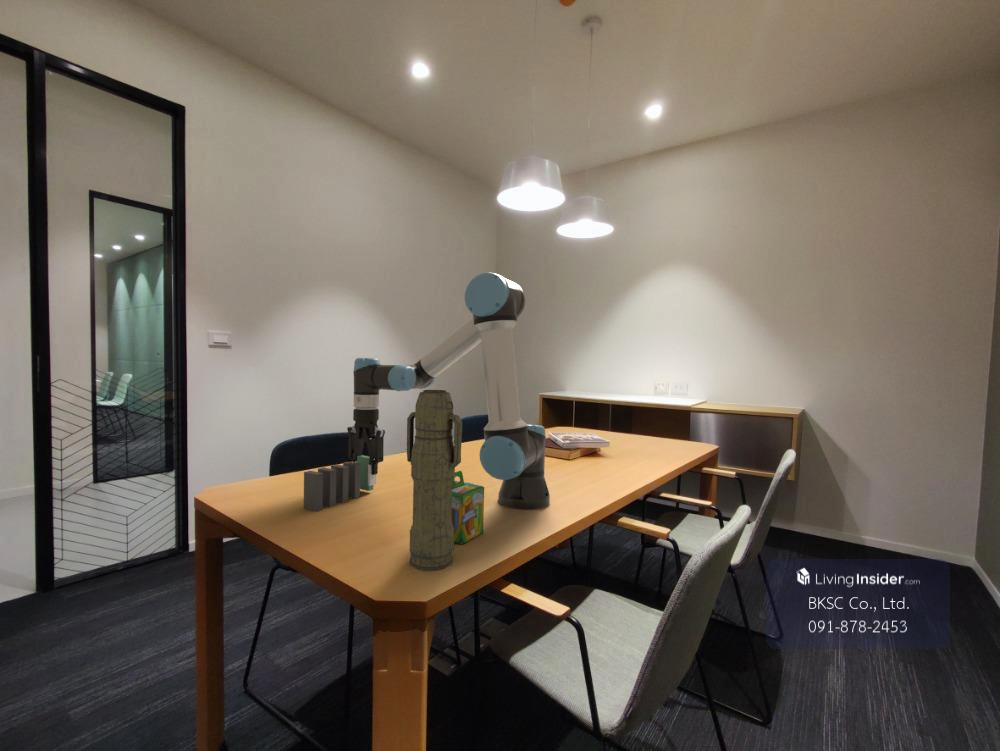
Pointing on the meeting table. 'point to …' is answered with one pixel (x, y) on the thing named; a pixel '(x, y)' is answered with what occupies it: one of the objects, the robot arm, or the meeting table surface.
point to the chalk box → (467, 509)
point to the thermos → (433, 478)
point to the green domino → (364, 472)
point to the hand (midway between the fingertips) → (365, 483)
